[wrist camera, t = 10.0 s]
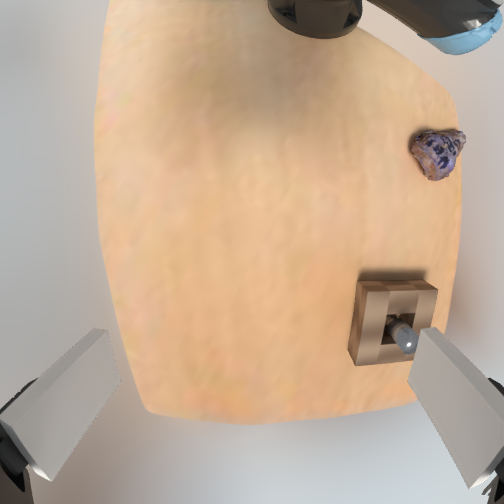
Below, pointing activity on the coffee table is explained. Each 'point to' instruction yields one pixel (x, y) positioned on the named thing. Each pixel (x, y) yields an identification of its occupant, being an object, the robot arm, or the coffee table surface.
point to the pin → (401, 333)
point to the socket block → (374, 316)
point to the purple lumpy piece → (438, 152)
